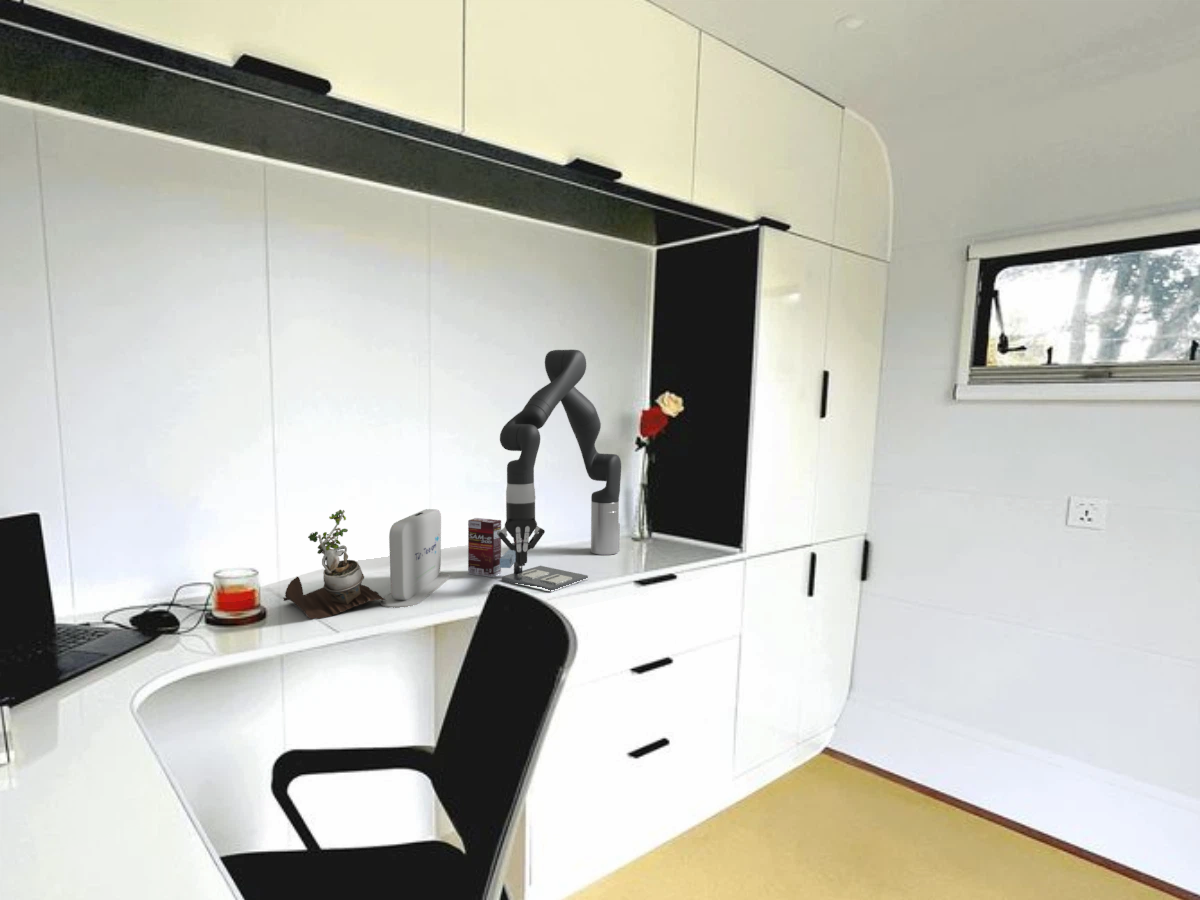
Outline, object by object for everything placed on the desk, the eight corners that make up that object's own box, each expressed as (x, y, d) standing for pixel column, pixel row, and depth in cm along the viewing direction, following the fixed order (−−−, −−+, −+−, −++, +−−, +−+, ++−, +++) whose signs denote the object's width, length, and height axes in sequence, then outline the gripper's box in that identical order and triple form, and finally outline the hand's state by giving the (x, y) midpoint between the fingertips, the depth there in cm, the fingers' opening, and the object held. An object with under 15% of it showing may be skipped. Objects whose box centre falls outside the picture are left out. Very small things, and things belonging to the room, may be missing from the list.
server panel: (538, 569, 190) (538, 548, 189) (587, 579, 178) (588, 558, 178) (499, 580, 177) (499, 558, 176) (550, 592, 166) (550, 569, 165)
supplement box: (467, 574, 183) (467, 520, 182) (476, 570, 187) (476, 517, 186) (493, 577, 179) (493, 522, 178) (501, 573, 184) (502, 519, 183)
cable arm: (512, 552, 183) (512, 542, 182) (526, 552, 182) (526, 542, 182) (497, 568, 164) (497, 557, 164) (512, 569, 163) (512, 557, 163)
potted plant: (393, 611, 154) (372, 521, 145) (316, 650, 142) (288, 554, 133) (357, 582, 168) (336, 497, 159) (284, 615, 156) (257, 526, 147)
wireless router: (413, 608, 151) (413, 526, 150) (373, 607, 152) (372, 524, 151) (454, 575, 182) (454, 506, 181) (420, 574, 183) (420, 505, 182)
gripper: (541, 497, 172) (541, 559, 173) (492, 499, 167) (493, 564, 168) (548, 500, 165) (549, 566, 166) (498, 503, 160) (499, 570, 161)
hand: (521, 565), depth 167 cm, fingers closed
